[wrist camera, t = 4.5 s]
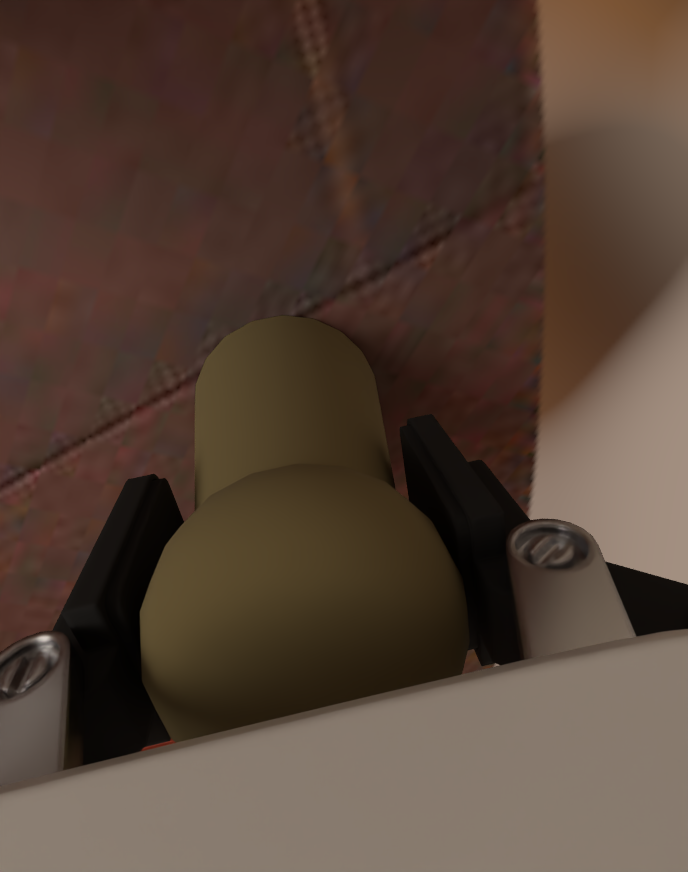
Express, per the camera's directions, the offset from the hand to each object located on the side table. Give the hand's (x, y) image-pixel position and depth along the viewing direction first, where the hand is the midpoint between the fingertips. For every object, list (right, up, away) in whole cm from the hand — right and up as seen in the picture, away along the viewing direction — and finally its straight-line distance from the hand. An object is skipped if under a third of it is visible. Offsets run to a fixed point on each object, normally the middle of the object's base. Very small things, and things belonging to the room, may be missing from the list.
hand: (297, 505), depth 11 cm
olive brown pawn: (-1, +3, +5) cm, 6 cm away
